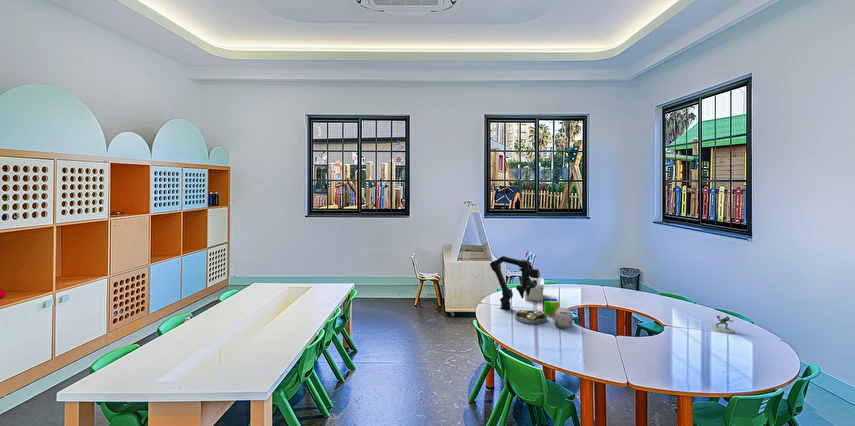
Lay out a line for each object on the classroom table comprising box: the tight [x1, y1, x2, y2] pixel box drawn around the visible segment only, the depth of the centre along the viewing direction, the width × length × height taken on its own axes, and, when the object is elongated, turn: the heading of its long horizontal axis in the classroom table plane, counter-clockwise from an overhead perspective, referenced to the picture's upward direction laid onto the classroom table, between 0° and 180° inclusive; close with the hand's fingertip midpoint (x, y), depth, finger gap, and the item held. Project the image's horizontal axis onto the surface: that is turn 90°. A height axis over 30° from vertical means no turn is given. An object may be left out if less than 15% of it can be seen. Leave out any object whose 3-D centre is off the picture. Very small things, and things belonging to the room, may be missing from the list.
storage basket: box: [524, 277, 545, 302], centre depth 336 cm, size 24×16×15 cm
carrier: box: [514, 309, 548, 325], centre depth 283 cm, size 22×22×5 cm
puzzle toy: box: [542, 298, 560, 316], centre depth 294 cm, size 10×10×10 cm
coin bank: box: [552, 307, 574, 330], centre depth 269 cm, size 16×17×13 cm
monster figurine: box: [711, 314, 735, 334], centre depth 258 cm, size 12×12×10 cm
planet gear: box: [517, 309, 529, 317], centre depth 287 cm, size 7×7×4 cm
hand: (525, 296), depth 297 cm, fingers open, 9 cm apart
